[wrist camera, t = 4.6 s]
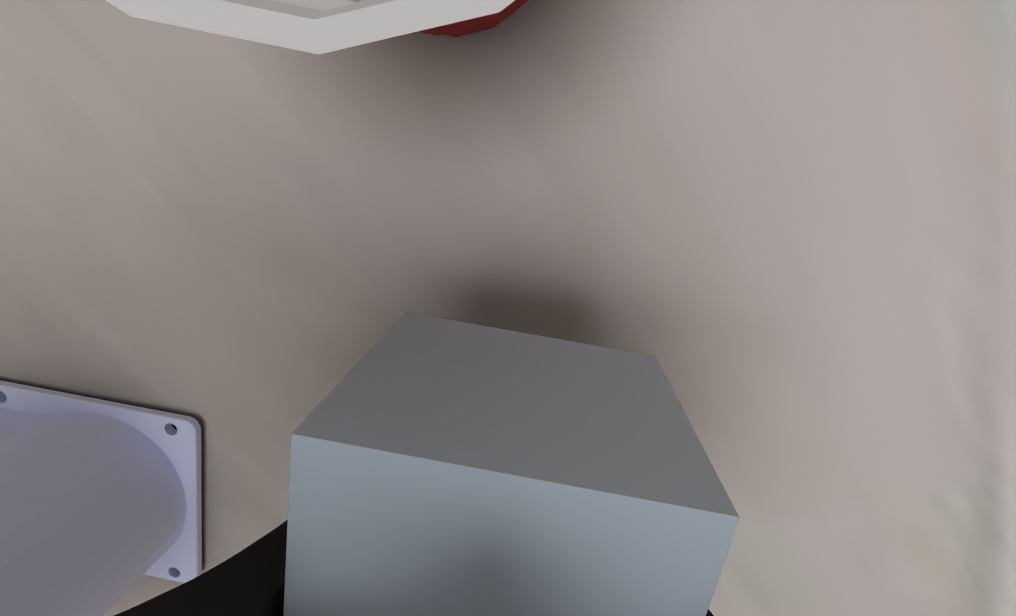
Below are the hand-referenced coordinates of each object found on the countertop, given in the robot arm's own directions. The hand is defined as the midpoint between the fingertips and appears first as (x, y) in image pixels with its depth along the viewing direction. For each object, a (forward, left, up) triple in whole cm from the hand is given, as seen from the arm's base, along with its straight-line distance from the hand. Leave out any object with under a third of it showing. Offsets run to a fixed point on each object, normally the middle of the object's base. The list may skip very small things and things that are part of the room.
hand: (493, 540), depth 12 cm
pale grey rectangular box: (0, 0, -2) cm, 2 cm away
